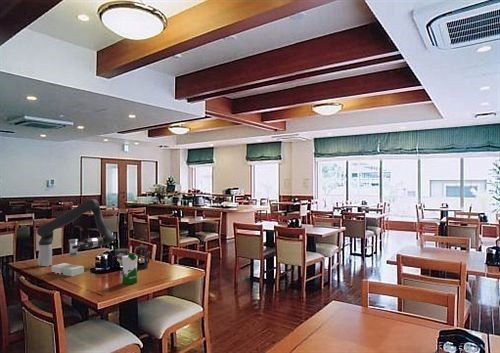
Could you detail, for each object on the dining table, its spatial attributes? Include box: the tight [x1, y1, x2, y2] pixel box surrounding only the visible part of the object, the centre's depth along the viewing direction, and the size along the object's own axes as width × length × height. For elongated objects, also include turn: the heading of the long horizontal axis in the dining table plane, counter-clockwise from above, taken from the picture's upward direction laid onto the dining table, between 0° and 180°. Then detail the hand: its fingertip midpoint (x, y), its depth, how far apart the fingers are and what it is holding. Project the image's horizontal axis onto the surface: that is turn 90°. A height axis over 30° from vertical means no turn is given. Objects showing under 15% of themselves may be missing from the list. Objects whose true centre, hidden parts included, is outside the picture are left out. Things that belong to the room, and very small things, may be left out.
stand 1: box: [51, 262, 73, 275], centre depth 267 cm, size 10×10×5 cm
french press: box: [135, 238, 150, 271], centre depth 278 cm, size 12×9×23 cm
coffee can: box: [114, 247, 130, 266], centre depth 280 cm, size 10×10×14 cm
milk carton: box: [121, 252, 138, 286], centre depth 239 cm, size 9×9×20 cm
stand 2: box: [62, 264, 85, 277], centre depth 261 cm, size 10×10×5 cm
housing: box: [68, 238, 79, 258], centre depth 261 cm, size 6×6×12 cm
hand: (70, 247), depth 259 cm, fingers closed on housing, 5 cm apart
